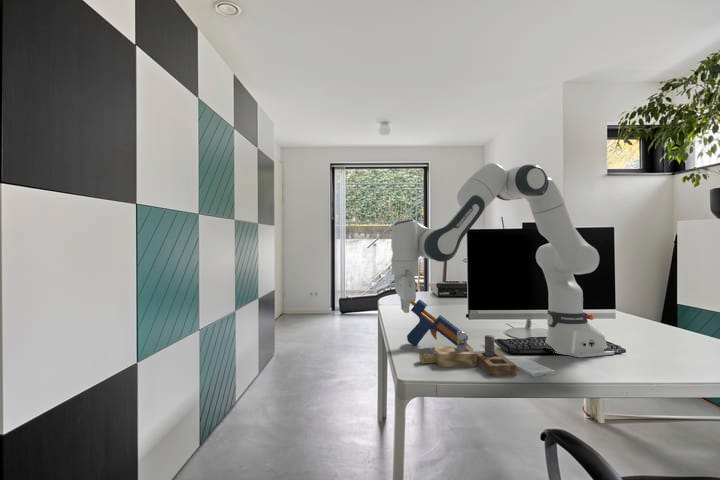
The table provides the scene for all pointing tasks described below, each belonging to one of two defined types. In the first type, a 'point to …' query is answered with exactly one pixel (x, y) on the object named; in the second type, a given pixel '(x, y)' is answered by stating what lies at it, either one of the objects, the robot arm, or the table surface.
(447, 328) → the glue gun
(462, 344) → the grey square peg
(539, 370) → the external hard drive
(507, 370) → the bit rack
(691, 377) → the table surface
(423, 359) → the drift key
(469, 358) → the socket block
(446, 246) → the robot arm
